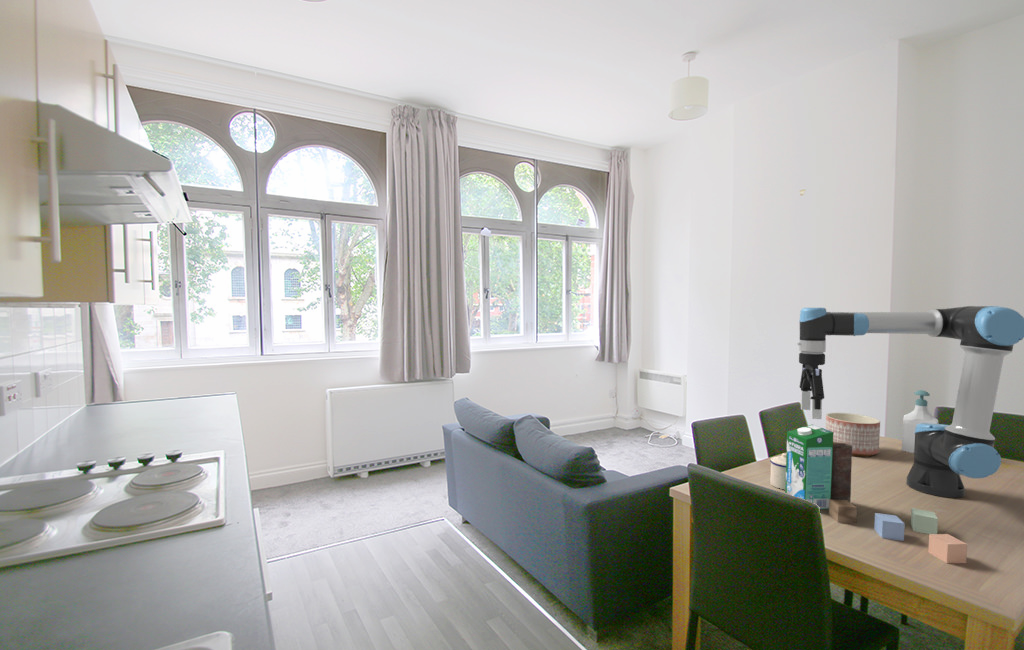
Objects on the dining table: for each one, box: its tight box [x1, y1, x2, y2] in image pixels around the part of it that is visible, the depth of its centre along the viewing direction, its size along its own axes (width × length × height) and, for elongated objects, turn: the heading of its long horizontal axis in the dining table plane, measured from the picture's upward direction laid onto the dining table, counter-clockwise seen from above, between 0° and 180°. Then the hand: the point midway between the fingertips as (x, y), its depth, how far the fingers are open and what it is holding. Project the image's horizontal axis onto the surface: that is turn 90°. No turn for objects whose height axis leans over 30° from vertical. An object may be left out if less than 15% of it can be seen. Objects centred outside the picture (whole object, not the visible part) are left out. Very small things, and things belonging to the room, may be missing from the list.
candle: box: [831, 442, 853, 503], centre depth 149 cm, size 8×7×20 cm
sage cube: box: [910, 507, 939, 535], centre depth 133 cm, size 5×5×5 cm
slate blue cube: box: [874, 512, 906, 542], centre depth 130 cm, size 5×5×5 cm
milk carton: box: [784, 424, 833, 510], centre depth 149 cm, size 9×9×25 cm
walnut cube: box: [828, 499, 858, 525], centre depth 139 cm, size 5×5×5 cm
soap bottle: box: [901, 389, 940, 454], centre depth 201 cm, size 11×8×27 cm
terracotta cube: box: [928, 533, 968, 564], centre depth 118 cm, size 5×5×5 cm
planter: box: [825, 412, 881, 457], centre depth 203 cm, size 19×19×15 cm
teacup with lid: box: [769, 452, 787, 491], centre depth 165 cm, size 12×9×12 cm
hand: (810, 414), depth 158 cm, fingers open, 13 cm apart
